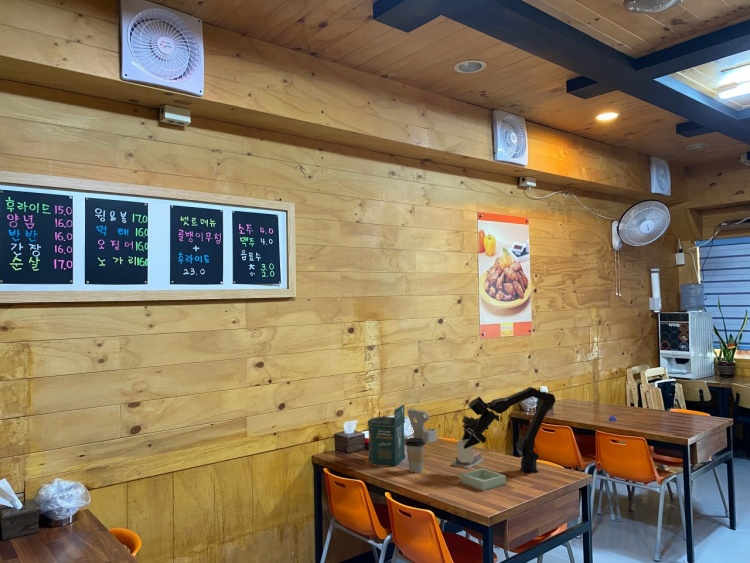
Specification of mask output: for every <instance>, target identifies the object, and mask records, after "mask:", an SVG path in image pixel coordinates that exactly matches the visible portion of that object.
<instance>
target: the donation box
mask: <svg viewBox="0 0 750 563" xmlns="http://www.w3.org/2000/svg"><path fill="white" fill-rule="evenodd" d="M393 412H394V413H393V414H394V417H393V416H379V417H377V416H376V417H372V418H370V419H369V420H367V426H368V461H367V462H368V463H369V464H372V465H373V464H375V466H382V465H388V466H387V467H393V466H396V467H397V466H398V465H399V464H400V463H402V462H403V461H404V460H405V459H406V453H405V420H406V419H405V404H402V405H401V406H399V407H397V408H395V409H394V411H393ZM402 460H403V461H402ZM401 461H402V462H401Z"/></svg>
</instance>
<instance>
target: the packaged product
mask: <svg viewBox="0 0 750 563" xmlns="http://www.w3.org/2000/svg"><path fill="white" fill-rule="evenodd" d="M485 459H486V458H482V452H480V451H478V450H473V462H462V463H461V462H460V461H459V460H458V456H456V458H455V461H453V462H451V466H453V467H457V468H464V469H472V467H475V466H476V465H479V464H480V463H482V462H484V461H485ZM483 460H484V461H483ZM478 463H479V464H478Z"/></svg>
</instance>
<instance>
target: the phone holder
mask: <svg viewBox="0 0 750 563" xmlns="http://www.w3.org/2000/svg"><path fill="white" fill-rule="evenodd" d="M407 416H408V418H409V422H410V421H411V423H410V425H412V426H411V428H412V427H413V430H414V433H413V436H414V438H421V439H423V441H424V442H425V444H430V442H431V443H434V441H435V442H438V437H437V436H438V435H437V431H438V430H437V429H436V428H430V429H425V423H426V422H428V420H430V418H431V417H430V413H429V412H428V411H425V410H420V409H416V408H415V409H414V408H409V409H408V410H407ZM413 430H412V431H413Z"/></svg>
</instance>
